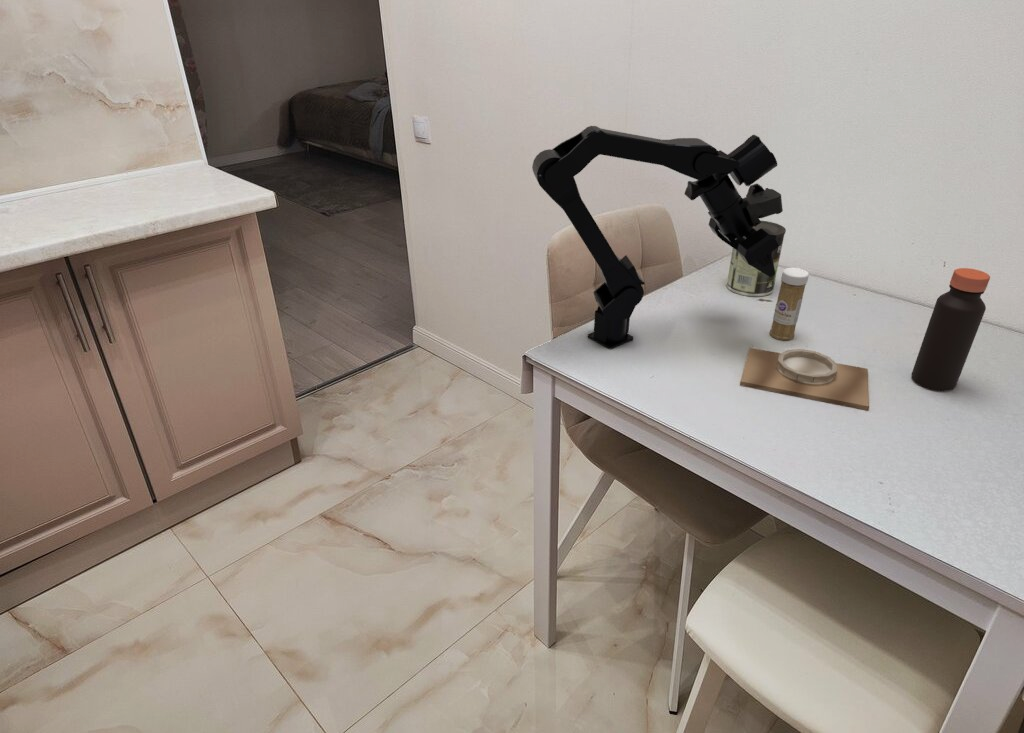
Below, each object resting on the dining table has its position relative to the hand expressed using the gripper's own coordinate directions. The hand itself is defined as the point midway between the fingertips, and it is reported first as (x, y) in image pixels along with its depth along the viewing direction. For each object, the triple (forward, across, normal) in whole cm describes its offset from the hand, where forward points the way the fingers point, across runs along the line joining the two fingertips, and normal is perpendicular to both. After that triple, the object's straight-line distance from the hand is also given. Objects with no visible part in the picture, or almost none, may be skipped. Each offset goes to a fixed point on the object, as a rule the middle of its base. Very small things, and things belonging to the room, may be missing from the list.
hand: (762, 266), depth 125 cm
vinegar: (+25, -22, -10) cm, 35 cm away
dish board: (+12, -19, +7) cm, 23 cm away
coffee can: (+16, +21, +2) cm, 26 cm away
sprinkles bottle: (+14, -3, +4) cm, 15 cm away
